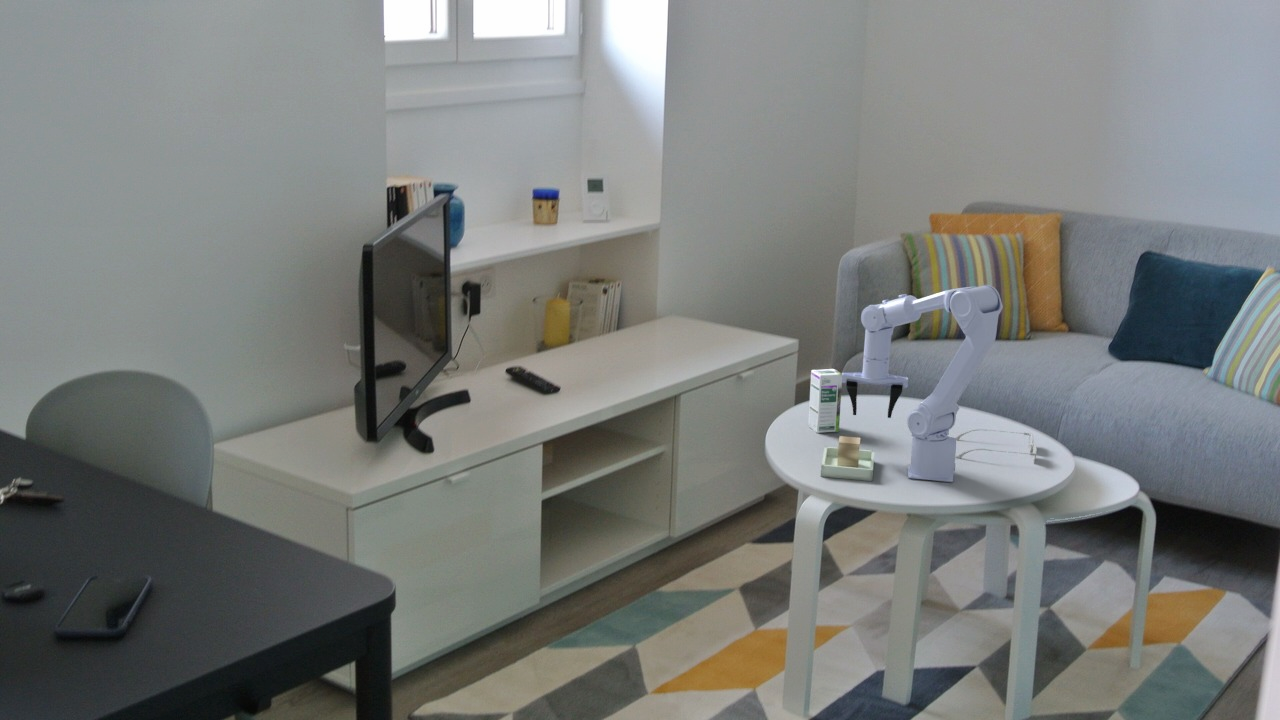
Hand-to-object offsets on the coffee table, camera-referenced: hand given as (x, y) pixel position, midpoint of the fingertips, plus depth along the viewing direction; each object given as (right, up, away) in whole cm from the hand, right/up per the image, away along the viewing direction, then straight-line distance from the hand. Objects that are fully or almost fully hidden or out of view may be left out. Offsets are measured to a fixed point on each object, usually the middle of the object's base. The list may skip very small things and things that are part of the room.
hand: (871, 415), depth 285 cm
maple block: (-7, -11, -7) cm, 14 cm away
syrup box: (-8, -4, +20) cm, 22 cm away
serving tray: (-7, -11, -7) cm, 15 cm away
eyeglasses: (+29, -9, +7) cm, 31 cm away
